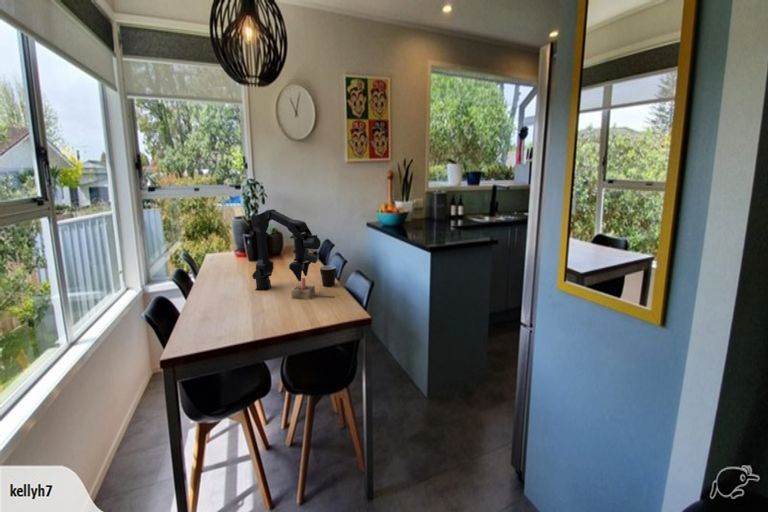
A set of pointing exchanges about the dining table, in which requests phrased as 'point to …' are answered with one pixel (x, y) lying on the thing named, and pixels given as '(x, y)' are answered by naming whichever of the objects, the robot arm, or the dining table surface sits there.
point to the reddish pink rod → (303, 284)
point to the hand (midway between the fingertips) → (302, 278)
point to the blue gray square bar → (324, 296)
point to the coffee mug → (328, 275)
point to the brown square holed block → (303, 292)
